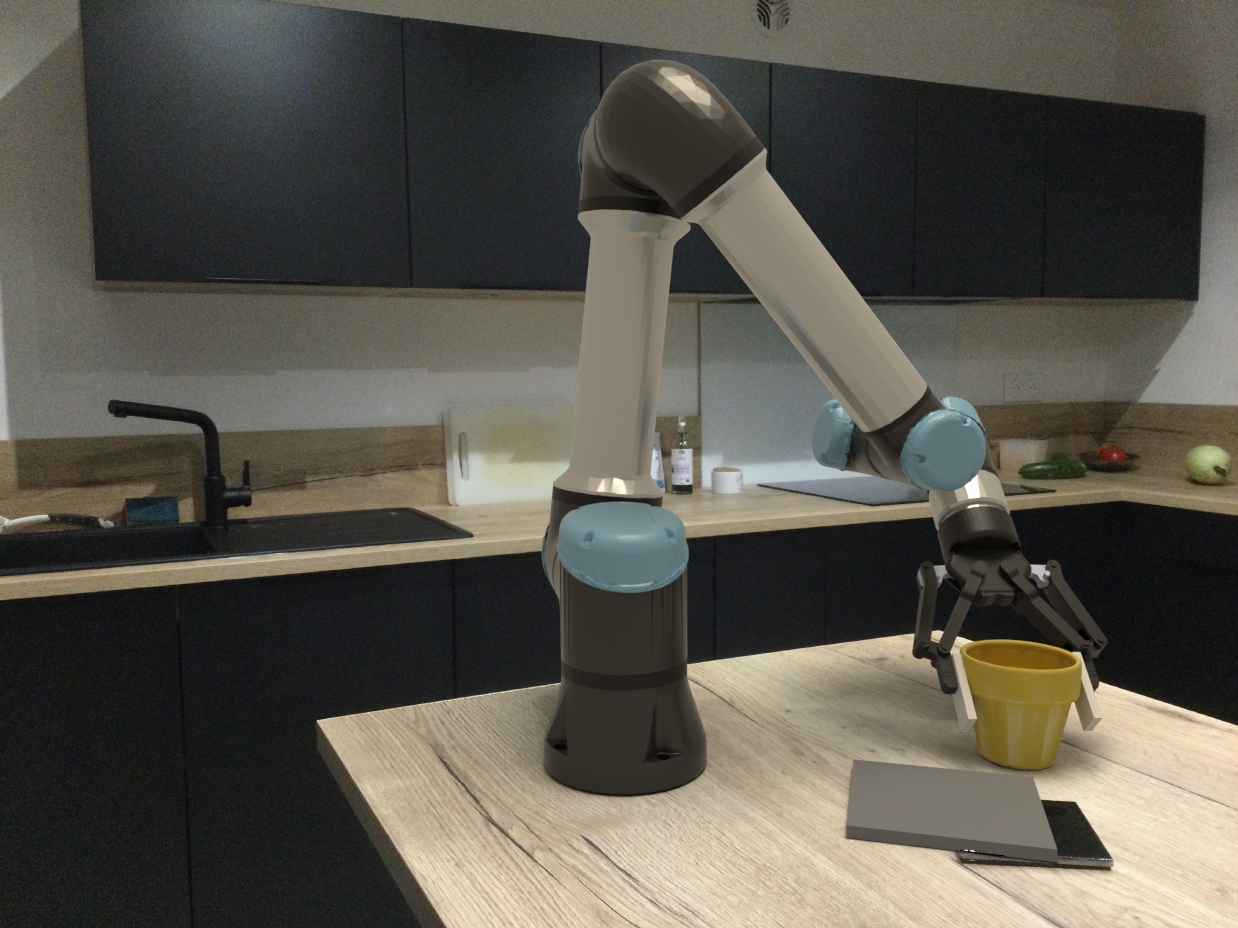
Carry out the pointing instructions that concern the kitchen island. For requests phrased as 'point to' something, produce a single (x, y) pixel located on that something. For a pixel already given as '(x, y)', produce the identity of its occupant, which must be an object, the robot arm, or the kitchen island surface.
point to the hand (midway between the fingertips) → (1030, 724)
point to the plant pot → (1020, 699)
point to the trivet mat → (948, 810)
